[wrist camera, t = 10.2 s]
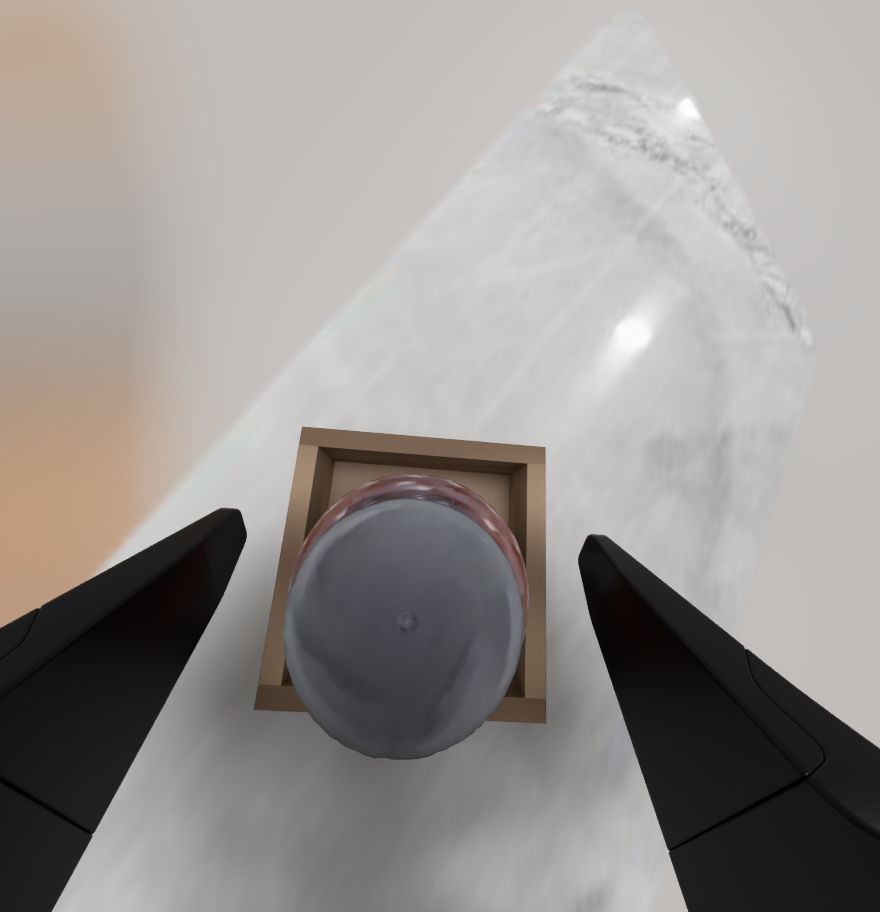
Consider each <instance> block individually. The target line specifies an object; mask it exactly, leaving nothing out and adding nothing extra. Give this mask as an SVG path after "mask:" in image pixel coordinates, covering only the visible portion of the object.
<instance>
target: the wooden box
mask: <svg viewBox="0 0 880 912" xmlns="http://www.w3.org/2000/svg"><path fill="white" fill-rule="evenodd" d="M404 473H417V474H428V475H435V476H439V477H443V478H446V479H450V480H454V481H456V482H457V483H459V484H461V485H463V486H465V487H468V488H469V489H470V490H472V491H474V492H475V493H476V494H478V495H479V496H481V497H482V498H483V499H484V500H485V501H487V502H488V503H489V504H490V505H491V506H492V507H494V509H495V510H496V511H497V513H498V514H499V515H500V516H501V518H502V519H503V520H504V522H505V523H506V524H507V525H508V527H509V528H510V530H511V531H512V533H513V535H514V537H515V538H516V540H517V543H518V545H519V548H520V550H521V553H522V556H523V560H524V563H525V567H526V571H527V576H528V582H529V599H530V603H529V616H528V623H527V628H526V633H525V636H524V641H523V644H522V647H521V654H520V658H519V661H518V665H517V668H516V672H515V675H514V677H513V679H512V681H511V684H510V686H509V688H508V691H507V692H506V694H505V696H504V698H503V699H502V701H501V702H500V704H499V705H498V706H497V708H496V709H495V711H494V712H493V713H492V714H491V715H490V716H489V718H488V719H487V720H486V721H506V722H527V723H546V472H545V447H537V446H525V445H513V444H501V443H489V442H477V441H466V440H454V439H442V438H430V437H418V436H406V435H395V434H383V433H371V432H359V431H347V430H335V429H323V428H312V427H302V431H301V436H300V442H299V448H298V454H297V460H296V466H295V472H294V478H293V483H292V489H291V495H290V501H289V507H288V513H287V519H286V524H285V530H284V536H283V542H282V548H281V554H280V560H279V566H278V571H277V577H276V583H275V589H274V595H273V601H272V607H271V612H270V618H269V624H268V630H267V636H266V642H265V648H264V654H263V659H262V665H261V671H260V677H259V683H258V689H257V695H256V701H255V706H254V710H271V711H293V712H308V710H307V709H306V708H305V706H304V705H303V703H302V702H301V700H300V699H299V697H298V696H297V694H296V692H295V689H294V686H293V683H292V679H291V676H290V674H289V671H288V669H287V666H286V659H285V652H284V640H283V626H284V614H285V609H286V605H287V597H288V589H289V581H290V578H291V575H292V572H293V568H294V564H295V561H296V559H297V556H298V553H299V551H300V549H301V547H302V545H303V542H304V540H305V539H306V537H307V536H308V534H309V532H310V531H311V530H312V528H313V527H314V525H315V524H316V522H317V521H318V520H319V519H320V518H321V517H322V516H323V514H324V513H325V512H326V511H327V510H328V509H329V508H330V507H331V506H332V505H334V504H335V503H336V502H337V501H338V500H339V499H340V498H341V497H343V496H344V495H346V494H347V493H349V492H350V491H352V490H354V489H356V488H358V487H360V486H361V485H363V484H365V483H367V482H370V481H372V480H375V479H378V478H380V477H386V476H389V475H394V474H404Z"/></svg>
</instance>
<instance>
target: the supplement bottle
mask: <svg viewBox="0 0 880 912" xmlns="http://www.w3.org/2000/svg"><path fill="white" fill-rule="evenodd" d="M529 603H530V599H529V582H528V576H527V571H526V567H525V563H524V560H523V556H522V553H521V550H520V548H519V545H518V543H517V540H516V538H515V537H514V535H513V533H512V531H511V530H510V528H509V527H508V525H507V524H506V523H505V522H504V520H503V519H502V518H501V516H500V515H499V514H498V513H497V511H496V510H495V509H494V507H492V506H491V505H490V504H489V503H488V502H487V501H485V500H484V499H483V498H482V497H481V496H479V495H478V494H476V493H475V492H474V491H472V490H470V489H469V488H468V487H465V486H463V485H461V484H459V483H457V482H456V481H454V480H450V479H446V478H443V477H439V476H435V475H428V474H417V473H404V474H394V475H389V476H386V477H380V478H378V479H375V480H372V481H370V482H367V483H365V484H363V485H361V486H360V487H358V488H356V489H354V490H352V491H350V492H349V493H347V494H346V495H344V496H343V497H341V498H340V499H339V500H338V501H337V502H336V503H335V504H334V505H332V506H331V507H330V508H329V509H328V510H327V511H326V512H325V513H324V514H323V516H322V517H321V518H320V519H319V520H318V521H317V522H316V524H315V525H314V527H313V528H312V530H311V531H310V532H309V534H308V536H307V537H306V539H305V540H304V542H303V545H302V547H301V549H300V551H299V553H298V556H297V559H296V561H295V564H294V568H293V572H292V575H291V578H290V581H289V589H288V597H287V605H286V609H285V614H284V626H283V640H284V652H285V659H286V666H287V669H288V671H289V674H290V676H291V679H292V683H293V686H294V689H295V692H296V694H297V696H298V697H299V699H300V700H301V702H302V703H303V705H304V706H305V708H306V709H307V710H308V712H309V714H310V715H311V717H312V718H313V720H314V721H315V722H316V723H317V724H318V725H320V726H321V728H322V729H323V730H324V731H325V732H326V733H327V734H328V735H329V736H330V737H331V738H333V739H335V740H337V741H338V742H340V743H341V744H342V745H344V746H345V747H348V748H351V749H353V750H356V751H358V752H359V753H361V754H363V755H366V756H369V757H373V758H389V759H394V760H407V759H420V758H424V757H428V756H431V755H433V754H435V753H436V752H439V751H443V750H446V749H448V748H449V747H451V746H453V745H455V744H457V743H459V742H461V741H463V740H464V739H466V738H467V737H468V736H470V735H471V734H472V733H473V732H474V731H475V730H476V729H477V728H479V727H480V726H481V725H482V724H483V723H484V722H485V721H486V720H487V719H488V718H489V716H490V715H491V714H492V713H493V712H494V711H495V709H496V708H497V706H498V705H499V704H500V702H501V701H502V699H503V698H504V696H505V694H506V692H507V691H508V688H509V686H510V684H511V681H512V679H513V677H514V675H515V672H516V668H517V665H518V661H519V658H520V654H521V647H522V644H523V641H524V636H525V633H526V628H527V623H528V616H529Z"/></svg>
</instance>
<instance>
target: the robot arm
mask: <svg viewBox="0 0 880 912" xmlns="http://www.w3.org/2000/svg"><path fill="white" fill-rule="evenodd" d="M246 538H247V532H246V528H245V525H244V521H243V517H242V514H241V512H240V510H238V509H234V508H220V509H218V510H216V511H214V512H212V513H210V514H209V515H207V516H205V517H203V518H201V519H199V520H198V521H196V522H194V523H192V524H190V525H188V526H187V527H185V528H183V529H181V530H179V531H178V532H176V533H174V534H172V535H170V536H168V537H167V538H165V539H163V540H161V541H159V542H157V543H156V544H154V545H152V546H150V547H148V548H146V549H145V550H143V551H141V552H139V553H137V554H135V555H134V556H132V557H130V558H128V559H126V560H124V561H123V562H121V563H119V564H117V565H115V566H113V567H112V568H110V569H108V570H106V571H104V572H102V573H101V574H99V575H97V576H95V577H93V578H91V579H90V580H88V581H86V582H84V583H82V584H80V585H79V586H77V587H75V588H73V589H71V590H69V591H68V592H66V593H64V594H62V595H60V596H58V597H57V598H55V599H53V600H51V601H50V602H47V603H46V604H44V605H42V606H41V608H40V609H39V608H37V609H34V610H33V611H31V612H29V613H27V614H26V615H23V616H22V617H20V618H18V619H16V620H14V621H13V622H11V623H9V624H7V625H5V626H3V627H1V628H0V912H52V910H53V908H54V906H55V905H56V903H57V901H58V899H59V897H60V895H61V894H62V892H63V890H64V888H65V886H66V884H67V883H68V881H69V879H70V877H71V875H72V873H73V872H74V870H75V868H76V866H77V864H78V862H79V861H80V859H81V857H82V855H83V853H84V851H85V850H86V848H87V846H88V844H89V842H90V840H91V839H92V834H93V833H94V832H95V831H96V829H97V827H98V825H99V823H100V821H101V820H102V818H103V816H104V814H105V812H106V810H107V808H108V807H109V805H110V803H111V801H112V799H113V797H114V796H115V794H116V792H117V790H118V788H119V786H120V785H121V783H122V781H123V779H124V777H125V775H126V774H127V772H128V770H129V768H130V766H131V764H132V763H133V761H134V759H135V757H136V755H137V753H138V752H139V750H140V748H141V746H142V744H143V742H144V741H145V739H146V737H147V735H148V733H149V731H150V730H151V728H152V726H153V724H154V722H155V720H156V719H157V717H158V715H159V713H160V711H161V709H162V708H163V706H164V704H165V702H166V700H167V698H168V697H169V695H170V693H171V691H172V689H173V687H174V686H175V684H176V682H177V680H178V678H179V676H180V675H181V673H182V671H183V669H184V667H185V665H186V664H187V662H188V660H189V658H190V656H191V654H192V653H193V651H194V649H195V647H196V645H197V643H198V642H199V640H200V638H201V636H202V634H203V632H204V631H205V629H206V627H207V625H208V623H209V621H210V619H211V618H212V616H213V614H214V612H215V610H216V608H217V607H218V605H219V603H220V601H221V599H222V597H223V595H224V592H225V590H226V588H227V585H228V583H229V581H230V578H231V576H232V573H233V571H234V569H235V566H236V564H237V561H238V559H239V557H240V554H241V552H242V549H243V547H244V544H245V542H246ZM578 564H579V569H580V574H581V578H582V583H583V587H584V592H585V596H586V601H587V605H588V610H589V614H590V618H591V621H592V625H593V628H594V631H595V634H596V637H597V640H598V643H599V646H600V649H601V652H602V655H603V658H604V661H605V664H606V667H607V670H608V673H609V676H610V679H611V682H612V685H613V688H614V691H615V693H616V696H617V699H618V702H619V705H620V708H621V711H622V714H623V717H624V720H625V723H626V726H627V729H628V732H629V735H630V738H631V741H632V744H633V747H634V750H635V753H636V756H637V759H638V762H639V765H640V768H641V771H642V774H643V777H644V780H645V783H646V786H647V789H648V792H649V795H650V798H651V801H652V804H653V807H654V810H655V813H656V816H657V819H658V822H659V825H660V828H661V831H662V834H663V837H664V840H665V843H666V846H667V848H668V850H669V855H670V858H671V861H672V864H673V867H674V870H675V873H676V876H677V879H678V882H679V885H680V888H681V891H682V894H683V897H684V900H685V903H686V906H687V909H688V912H880V748H878V747H877V746H875V745H874V744H873V743H871V742H870V741H869V740H867V739H866V738H864V737H863V736H862V735H860V734H859V733H858V732H856V731H855V730H853V729H852V728H851V727H849V726H848V725H847V724H845V723H844V722H842V721H841V720H840V719H838V718H837V717H835V716H834V715H833V714H831V713H830V712H829V711H827V710H826V709H825V708H823V707H822V706H820V705H819V704H818V703H817V702H815V701H814V700H812V699H811V698H810V697H808V696H807V695H806V694H804V693H803V692H802V691H800V690H799V689H798V688H796V687H795V686H794V685H793V684H791V683H790V682H789V681H787V680H786V679H785V678H784V677H782V676H781V675H780V674H778V673H777V672H776V671H774V670H773V669H772V668H771V667H769V666H768V665H767V664H765V663H764V662H763V661H762V660H761V659H759V658H758V657H757V656H756V655H754V654H753V653H752V652H751V651H749V650H748V649H745V648H744V646H743V645H742V644H741V643H739V642H738V641H737V640H736V639H734V638H733V637H732V636H731V635H729V634H728V633H727V632H726V631H724V630H723V629H722V628H721V627H719V626H718V625H717V624H716V623H714V622H713V621H712V620H711V619H709V618H708V617H707V616H706V615H704V614H703V613H702V612H701V611H699V610H698V609H697V608H696V607H694V606H693V605H692V604H691V603H689V602H688V601H687V600H686V599H684V598H683V597H682V596H681V595H679V594H678V593H677V592H676V591H674V590H673V589H672V588H671V587H669V586H668V585H667V584H666V583H664V582H663V581H662V580H661V579H659V578H658V577H657V576H656V575H654V574H653V573H652V572H651V571H649V570H648V569H647V568H646V567H644V566H643V565H642V564H641V563H639V562H638V561H637V560H636V559H634V558H633V557H632V556H631V555H629V554H628V553H627V552H626V551H624V550H623V549H622V548H621V547H619V546H618V545H617V544H616V543H614V542H613V541H612V540H611V539H609V538H608V537H607V536H605V535H596V534H591V535H589V536H587V538H586V540H585V543H584V545H583V547H582V549H581V552H580V554H579V557H578Z"/></svg>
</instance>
